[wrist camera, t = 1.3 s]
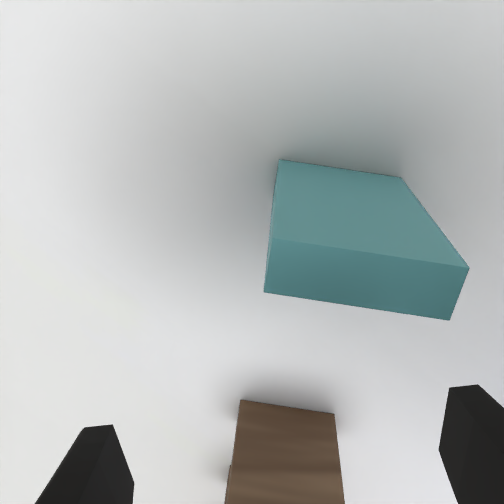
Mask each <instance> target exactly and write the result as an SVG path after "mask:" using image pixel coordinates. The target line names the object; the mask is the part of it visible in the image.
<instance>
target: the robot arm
mask: <svg viewBox="0 0 504 504" xmlns="http://www.w3.org/2000/svg"><path fill="white" fill-rule="evenodd" d="M439 452H440V455H441V458H442V461H443V464H444V467H445V470H446V472H447V475H448V478H449V481H450V484H451V486H452V489H453V492H454V494H455V497H456V500H457V502H458V504H504V408H503V407H502V406H501V405H500V404H499V403H498V402H497V401H496V400H495V399H493V398H492V397H491V396H490V395H489V394H488V393H487V392H486V391H485V390H484V389H483V388H481V387H480V386H479V385H469V386H460V387H451V388H449V392H448V398H447V404H446V410H445V416H444V421H443V427H442V433H441V439H440V445H439ZM133 492H134V481H133V478H132V475H131V473H130V470H129V467H128V465H127V462H126V459H125V456H124V454H123V451H122V448H121V446H120V443H119V440H118V437H117V435H116V432H115V429H114V427H113V425H103V426H94V427H85V428H84V429H83V430H82V431H81V432H80V434H79V435H78V437H77V438H76V440H75V442H74V443H73V445H72V446H71V448H70V450H69V451H68V453H67V454H66V456H65V458H64V459H63V461H62V462H61V464H60V466H59V467H58V469H57V470H56V472H55V473H54V475H53V477H52V478H51V480H50V481H49V483H48V484H47V486H46V487H45V489H44V490H43V492H42V494H41V495H40V497H39V498H38V500H37V501H36V503H35V504H132V503H133Z"/></svg>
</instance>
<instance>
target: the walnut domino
mask: <svg viewBox="0 0 504 504" xmlns="http://www.w3.org/2000/svg"><path fill="white" fill-rule="evenodd" d="M226 504H345V501H344V492H343V484H342V475H341V467H340V458H339V450H338V442H337V433H336V425H335V416H334V414H330V413H324V412H317V411H311V410H304V409H298V408H291V407H285V406H278V405H272V404H265V403H258V402H252V401H245V400H241V401H240V407H239V413H238V419H237V426H236V434H235V442H234V449H233V457H232V464H231V472H230V479H229V487H228V494H227V502H226Z"/></svg>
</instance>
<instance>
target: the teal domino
mask: <svg viewBox="0 0 504 504" xmlns="http://www.w3.org/2000/svg"><path fill="white" fill-rule="evenodd" d="M468 271H469V266H468V265H467V264H466V262H465V261H464V260H463V258H462V257H461V256H460V255H459V253H458V252H457V251H456V249H455V248H454V247H453V245H452V244H451V243H450V241H449V240H448V239H447V237H446V236H445V235H444V234H443V232H442V231H441V230H440V228H439V227H438V226H437V224H436V223H435V222H434V220H433V219H432V218H431V216H430V215H429V214H428V213H427V211H426V210H425V209H424V207H423V206H422V205H421V203H420V202H419V201H418V199H417V198H416V197H415V195H414V194H413V193H412V192H411V190H410V189H409V188H408V186H407V185H406V184H405V182H404V181H403V180H402V178H400V177H394V176H387V175H380V174H374V173H367V172H360V171H354V170H347V169H340V168H334V167H327V166H320V165H314V164H307V163H300V162H294V161H287V160H280V159H279V163H278V169H277V176H276V182H275V188H274V194H273V203H272V213H271V223H270V233H269V243H268V253H267V263H266V273H265V283H264V292H266V293H272V294H279V295H285V296H292V297H298V298H305V299H312V300H318V301H325V302H331V303H338V304H344V305H351V306H358V307H364V308H371V309H377V310H384V311H390V312H397V313H403V314H410V315H417V316H423V317H430V318H436V319H443V320H450V318H451V315H452V313H453V310H454V307H455V305H456V302H457V299H458V297H459V294H460V292H461V289H462V286H463V284H464V281H465V278H466V276H467V273H468Z"/></svg>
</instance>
